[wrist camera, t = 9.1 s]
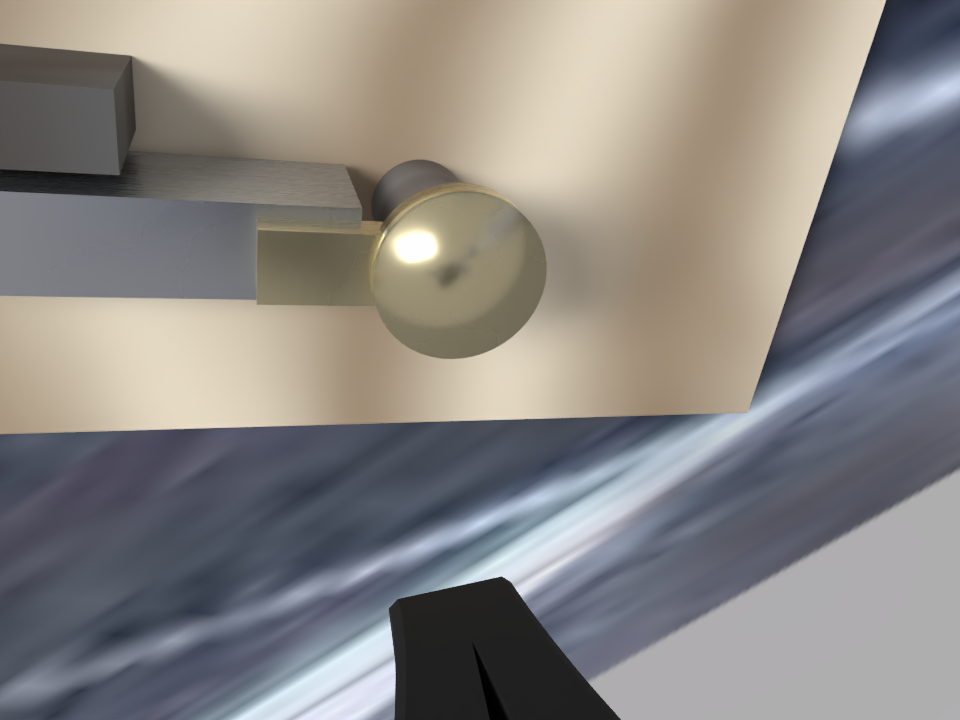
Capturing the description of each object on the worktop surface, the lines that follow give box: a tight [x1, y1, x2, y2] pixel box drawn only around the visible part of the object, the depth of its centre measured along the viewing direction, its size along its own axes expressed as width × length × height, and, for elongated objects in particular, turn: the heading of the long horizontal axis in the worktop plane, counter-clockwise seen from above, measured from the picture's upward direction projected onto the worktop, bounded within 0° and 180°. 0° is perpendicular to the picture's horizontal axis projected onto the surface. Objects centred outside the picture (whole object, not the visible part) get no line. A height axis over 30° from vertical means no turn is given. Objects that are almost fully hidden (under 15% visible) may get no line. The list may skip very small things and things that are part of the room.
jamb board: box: [0, 0, 886, 434], centre depth 15 cm, size 18×13×4 cm
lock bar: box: [0, 151, 547, 359], centre depth 13 cm, size 10×3×3 cm, turn 82°
